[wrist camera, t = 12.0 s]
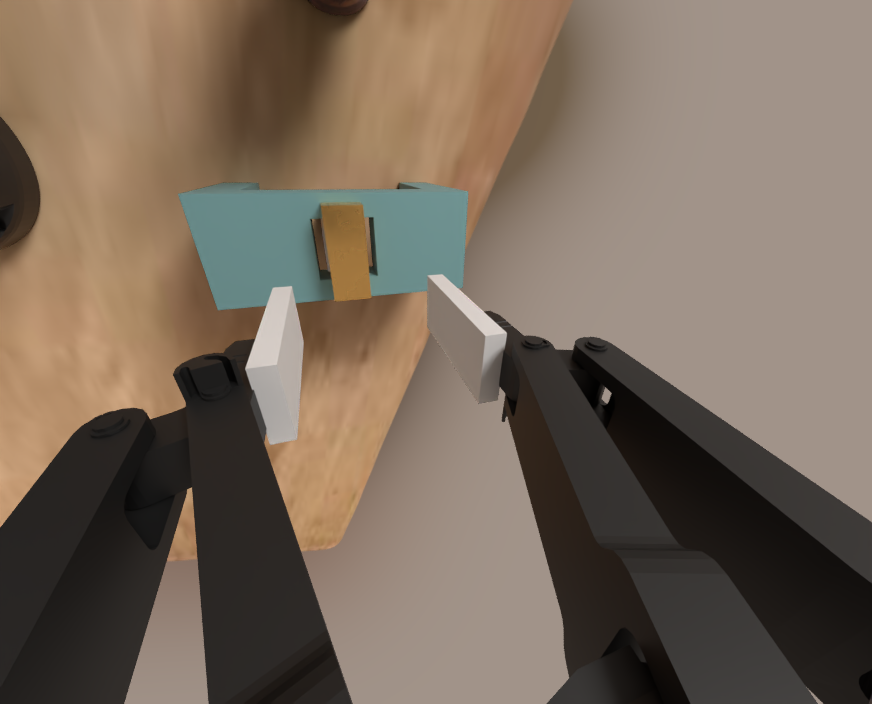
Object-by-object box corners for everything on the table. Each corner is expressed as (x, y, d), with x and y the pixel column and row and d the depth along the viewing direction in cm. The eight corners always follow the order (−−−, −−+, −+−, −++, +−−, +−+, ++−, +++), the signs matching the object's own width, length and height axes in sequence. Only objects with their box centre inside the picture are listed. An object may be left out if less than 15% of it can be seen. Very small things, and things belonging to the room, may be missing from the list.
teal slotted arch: (246, 266, 35) (217, 310, 25) (223, 182, 31) (177, 193, 21) (425, 255, 41) (462, 287, 30) (425, 182, 37) (468, 191, 26)
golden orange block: (327, 257, 37) (332, 301, 25) (317, 189, 33) (317, 205, 22) (356, 255, 38) (373, 297, 26) (349, 189, 34) (366, 205, 23)
